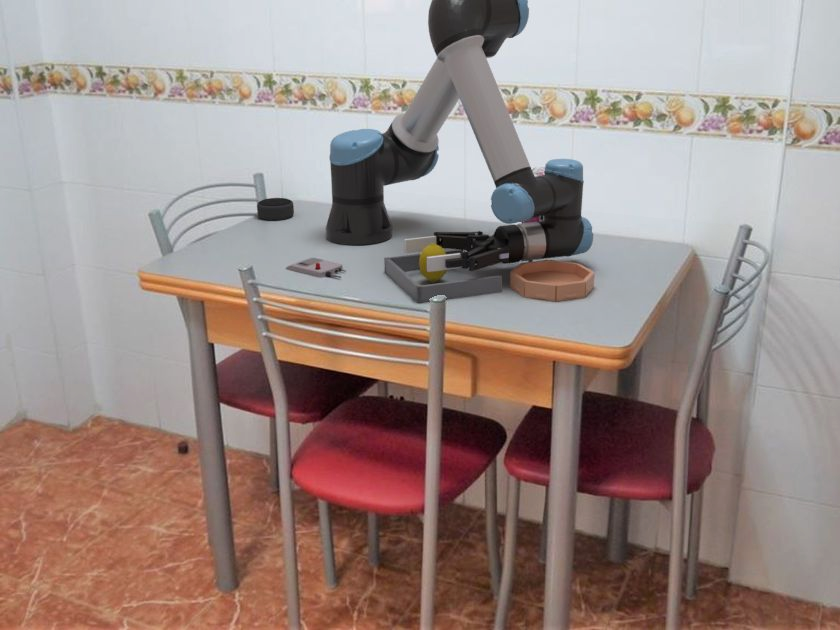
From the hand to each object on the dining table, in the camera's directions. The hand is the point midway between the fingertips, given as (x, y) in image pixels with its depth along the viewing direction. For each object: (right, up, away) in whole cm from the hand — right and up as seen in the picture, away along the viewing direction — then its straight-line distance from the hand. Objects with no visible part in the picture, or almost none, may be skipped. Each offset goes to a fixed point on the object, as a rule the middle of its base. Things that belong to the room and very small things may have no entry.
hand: (415, 255), depth 178 cm
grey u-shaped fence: (+5, -5, +4) cm, 8 cm away
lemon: (+3, -5, +3) cm, 7 cm away
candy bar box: (+26, +3, +26) cm, 37 cm away
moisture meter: (-20, -3, +12) cm, 23 cm away
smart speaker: (-35, +13, +52) cm, 64 cm away
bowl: (+26, -6, 0) cm, 27 cm away
